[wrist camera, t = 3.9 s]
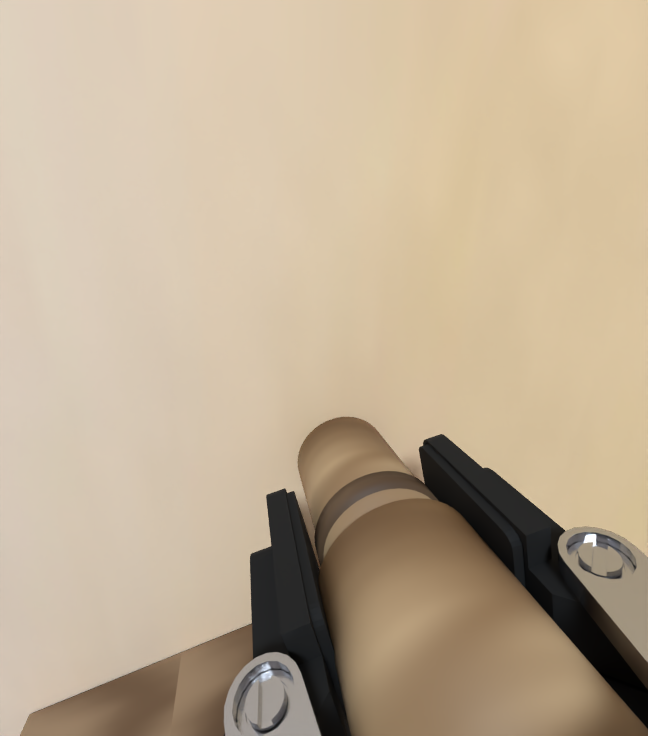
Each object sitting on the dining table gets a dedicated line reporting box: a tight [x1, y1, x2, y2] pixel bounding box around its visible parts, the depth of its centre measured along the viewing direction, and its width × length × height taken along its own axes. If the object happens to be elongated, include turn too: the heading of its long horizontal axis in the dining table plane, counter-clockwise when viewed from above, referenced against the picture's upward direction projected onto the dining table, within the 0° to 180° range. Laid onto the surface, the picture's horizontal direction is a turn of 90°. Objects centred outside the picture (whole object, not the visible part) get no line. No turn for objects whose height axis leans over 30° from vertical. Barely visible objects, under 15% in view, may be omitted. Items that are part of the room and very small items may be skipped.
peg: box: [298, 417, 648, 736], centre depth 8 cm, size 4×4×10 cm
